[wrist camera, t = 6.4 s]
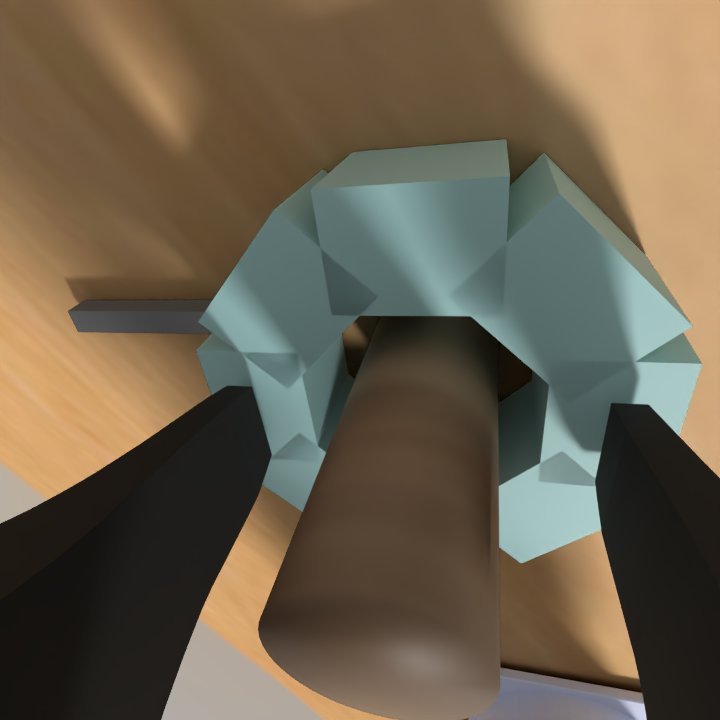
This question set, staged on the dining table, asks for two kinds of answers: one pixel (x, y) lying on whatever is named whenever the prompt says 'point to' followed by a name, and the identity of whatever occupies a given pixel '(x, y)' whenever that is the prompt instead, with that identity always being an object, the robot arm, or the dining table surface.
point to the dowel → (402, 534)
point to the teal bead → (455, 298)
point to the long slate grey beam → (140, 316)
